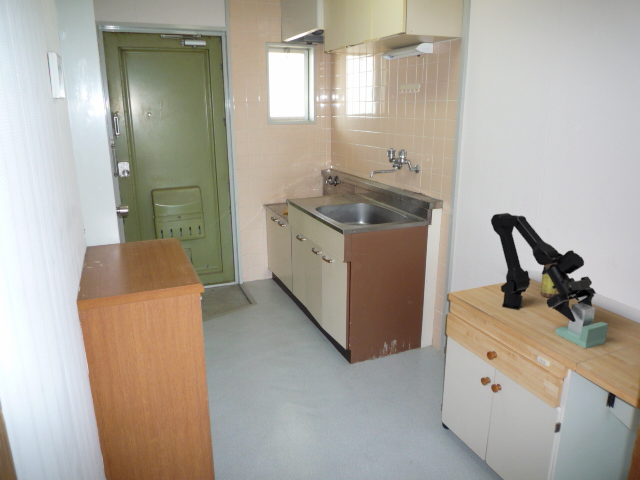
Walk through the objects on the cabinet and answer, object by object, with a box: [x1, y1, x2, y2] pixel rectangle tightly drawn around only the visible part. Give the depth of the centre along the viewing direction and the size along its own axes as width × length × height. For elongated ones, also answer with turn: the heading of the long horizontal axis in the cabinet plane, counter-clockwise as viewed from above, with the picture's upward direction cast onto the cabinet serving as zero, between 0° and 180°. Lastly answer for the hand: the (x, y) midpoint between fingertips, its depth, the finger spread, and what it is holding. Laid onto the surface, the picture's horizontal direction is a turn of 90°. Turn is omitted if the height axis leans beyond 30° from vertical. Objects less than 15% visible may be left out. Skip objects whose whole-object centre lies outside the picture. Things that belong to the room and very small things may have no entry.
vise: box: [554, 321, 609, 349], centre depth 165 cm, size 12×10×7 cm
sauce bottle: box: [540, 263, 558, 298], centre depth 202 cm, size 6×6×20 cm
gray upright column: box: [567, 303, 596, 336], centre depth 165 cm, size 5×5×10 cm
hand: (583, 319), depth 164 cm, fingers open, 9 cm apart
